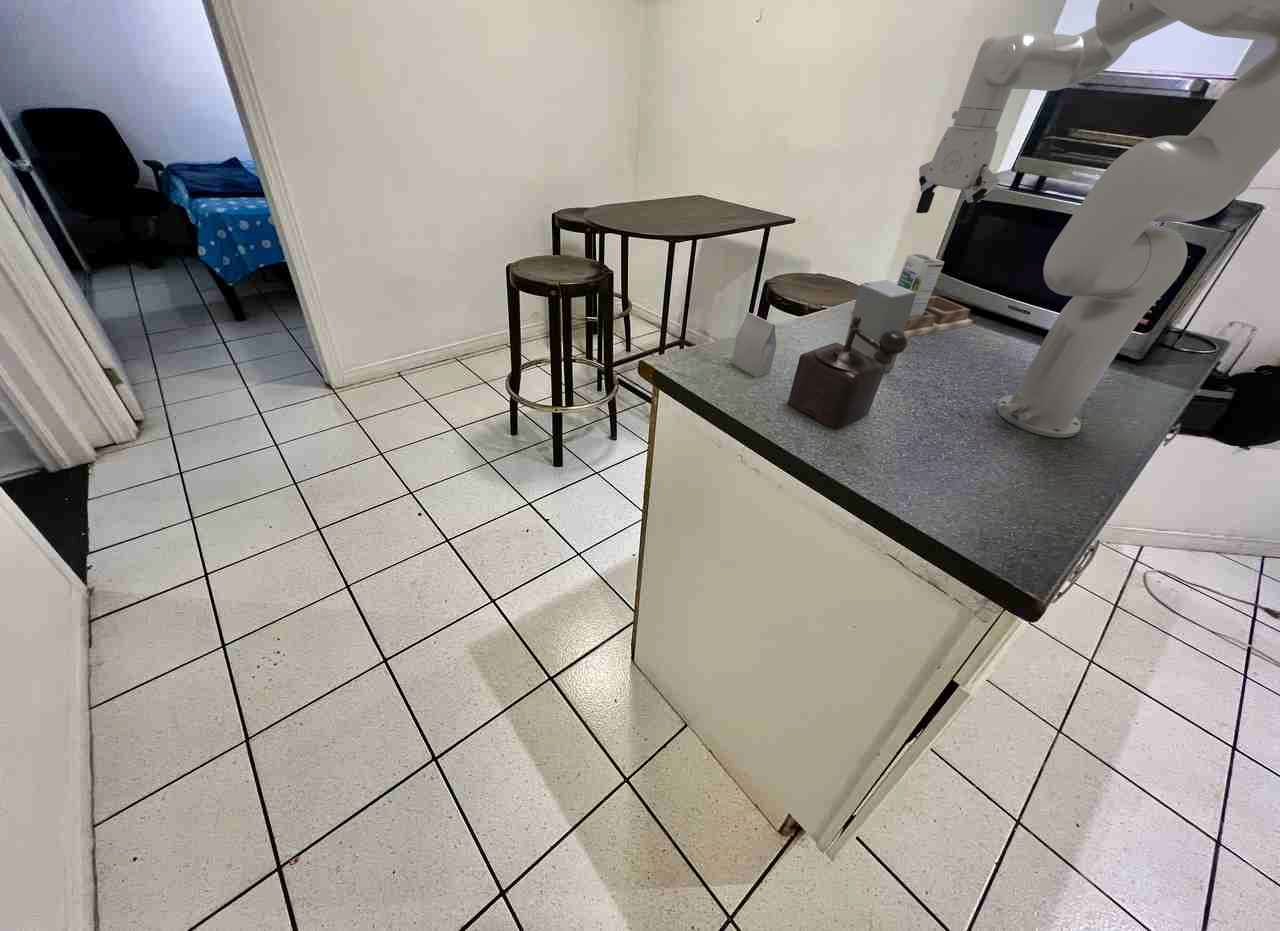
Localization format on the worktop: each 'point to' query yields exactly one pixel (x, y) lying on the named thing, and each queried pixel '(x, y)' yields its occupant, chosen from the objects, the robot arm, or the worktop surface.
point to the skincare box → (881, 313)
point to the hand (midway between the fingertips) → (940, 217)
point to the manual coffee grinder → (842, 378)
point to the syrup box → (920, 279)
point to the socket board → (937, 317)
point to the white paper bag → (755, 346)
